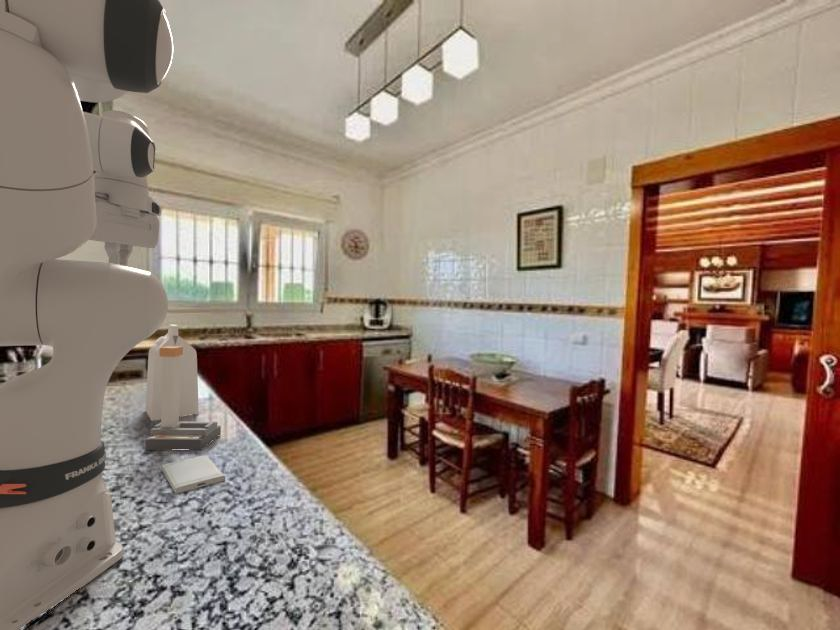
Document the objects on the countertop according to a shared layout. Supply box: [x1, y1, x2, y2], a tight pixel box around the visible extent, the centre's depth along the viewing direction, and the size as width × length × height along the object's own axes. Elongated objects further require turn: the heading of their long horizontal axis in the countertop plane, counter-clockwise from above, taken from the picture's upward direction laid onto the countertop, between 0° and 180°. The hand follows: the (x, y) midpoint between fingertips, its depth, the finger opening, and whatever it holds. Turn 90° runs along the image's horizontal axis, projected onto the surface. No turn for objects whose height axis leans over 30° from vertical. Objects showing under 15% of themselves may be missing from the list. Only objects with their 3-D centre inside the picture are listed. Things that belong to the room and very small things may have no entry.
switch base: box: [144, 420, 222, 451], centre depth 91 cm, size 10×12×4 cm
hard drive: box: [161, 454, 226, 495], centre depth 75 cm, size 2×8×12 cm
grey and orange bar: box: [159, 346, 183, 428], centre depth 91 cm, size 3×3×20 cm
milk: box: [144, 323, 200, 422], centre depth 113 cm, size 12×12×26 cm
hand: (118, 266), depth 79 cm, fingers closed
